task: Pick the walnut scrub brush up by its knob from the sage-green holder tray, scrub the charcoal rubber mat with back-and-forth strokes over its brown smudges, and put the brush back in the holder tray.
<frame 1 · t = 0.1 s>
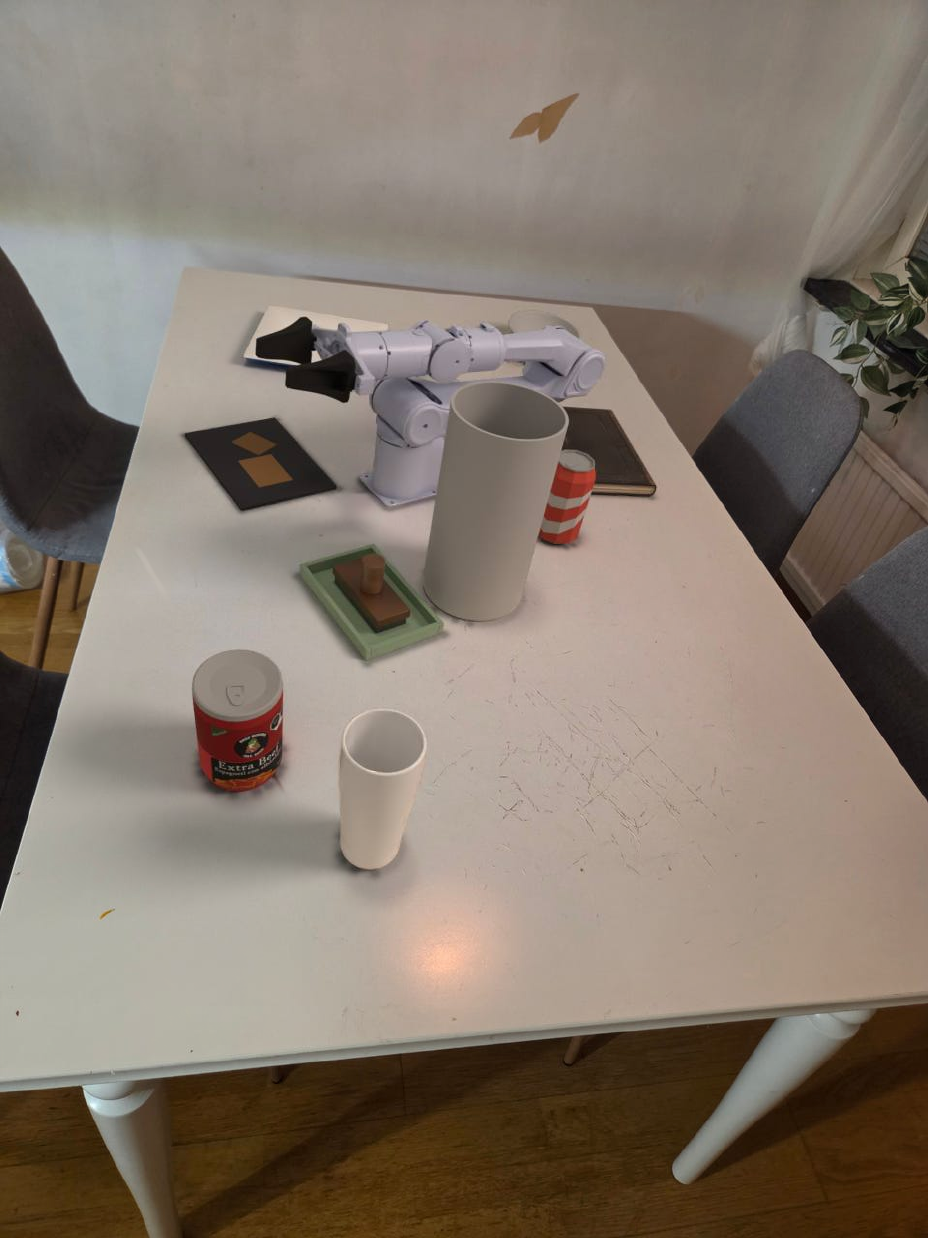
hand: (271, 362, 90), 22 cm above the table, tool horizontal, fingers open, 7 cm apart
cylinder vase: (471, 591, 100), on the table
brush: (369, 602, 95), resting on holder
hardcover book: (584, 455, 130), on the table
holder: (369, 605, 95), on the table
beverage can: (554, 535, 112), on the table
plate: (319, 350, 143), on the table
mat: (259, 461, 114), on the table
drinking glass: (369, 846, 72), on the table
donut: (436, 402, 135), on the table
canned food: (241, 760, 76), on the table
dish: (539, 354, 156), on the table
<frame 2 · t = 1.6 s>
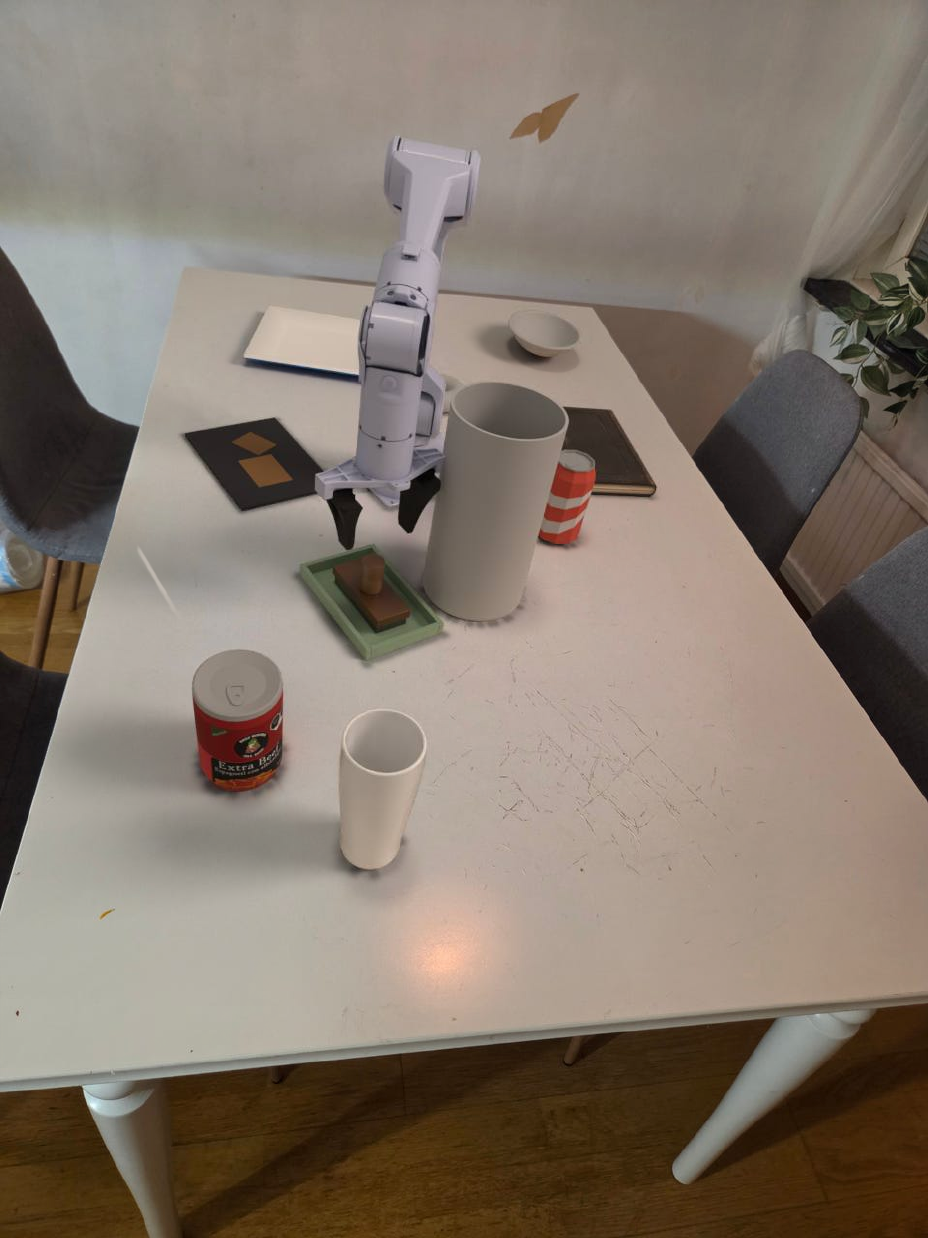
hand: (376, 536, 88), 10 cm above the table, tool pointing down, fingers open, 7 cm apart
nothing on the table moved.
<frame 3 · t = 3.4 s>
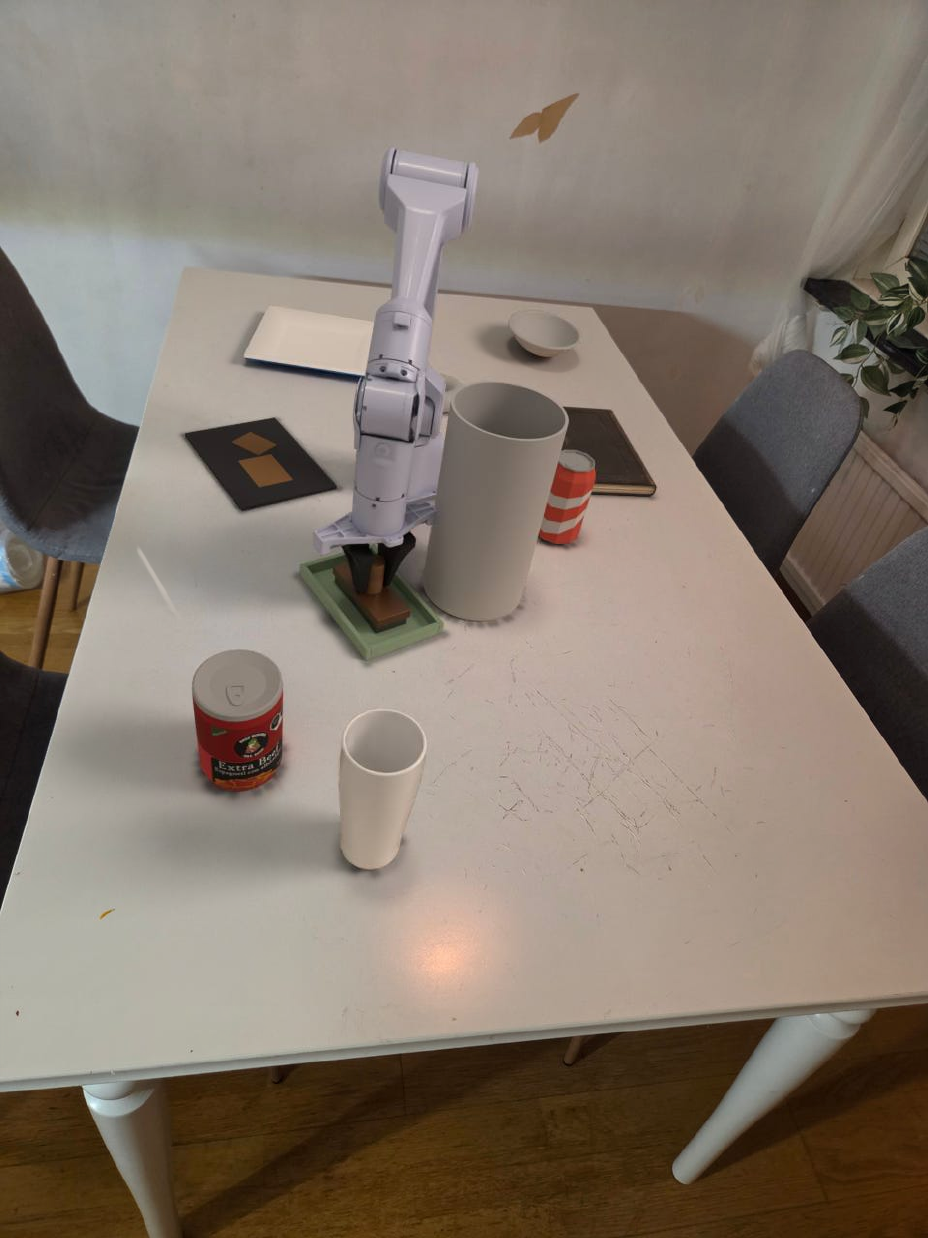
hand: (371, 584, 93), 3 cm above the table, tool pointing down, fingers closed on brush, 2 cm apart
brush: (369, 602, 95), resting on holder, touching gripper
everything else where it was.
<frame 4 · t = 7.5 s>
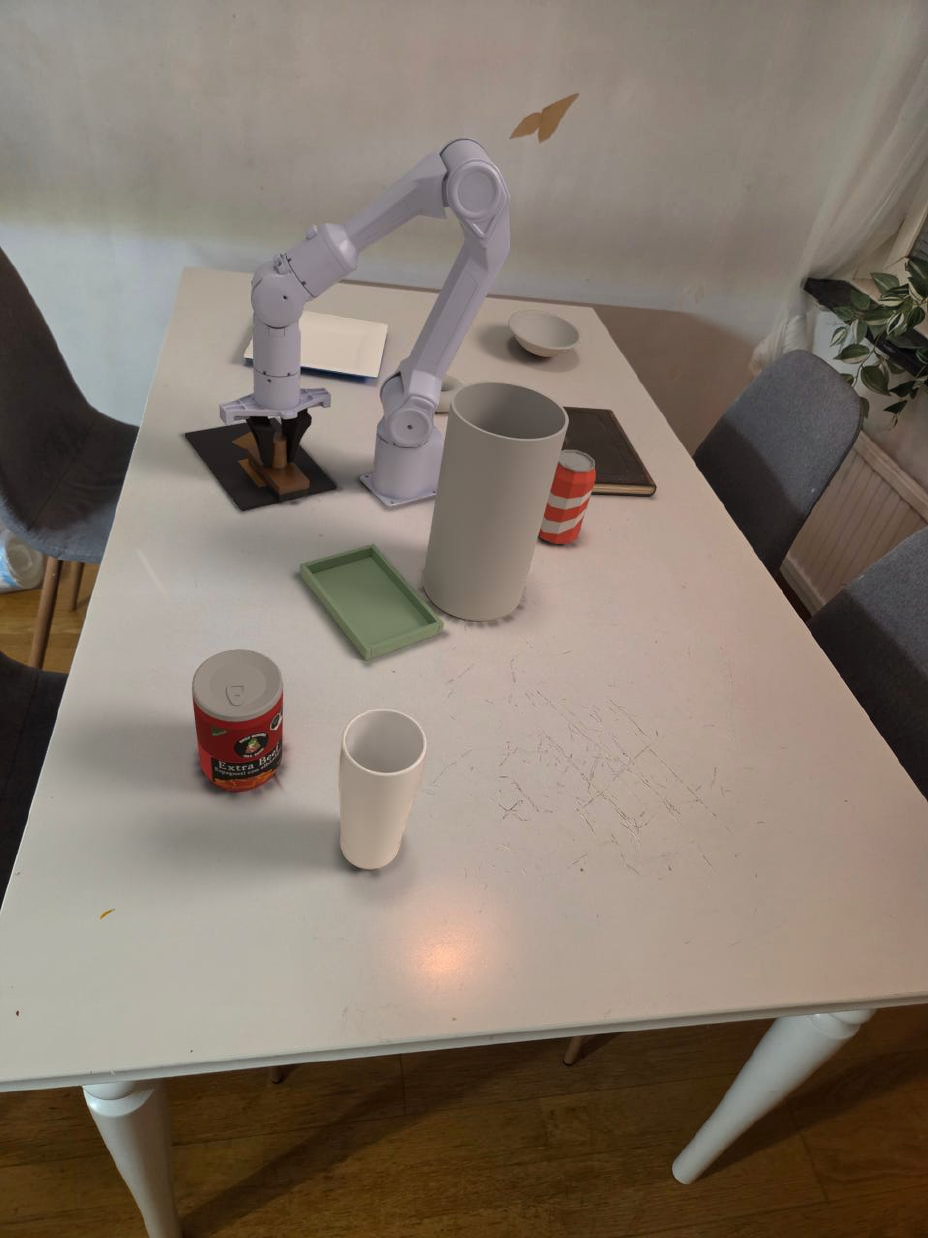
hand: (276, 461, 108), 4 cm above the table, tool pointing down, fingers closed on brush, 2 cm apart
brush: (277, 478, 110), point 1 cm above the table, touching gripper
everything else where it was.
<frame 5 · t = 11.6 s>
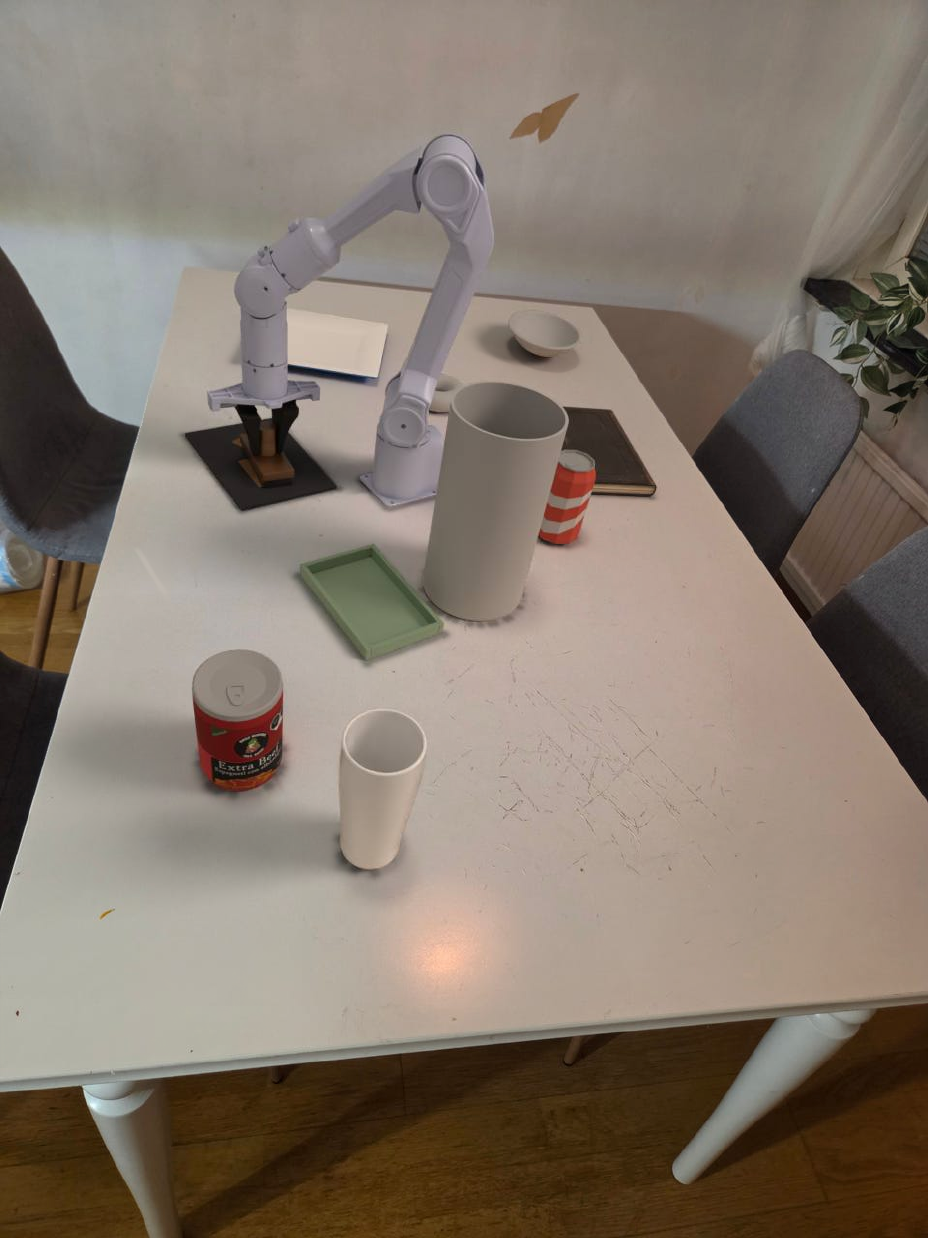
hand: (265, 450, 110), 3 cm above the table, tool pointing down, fingers closed on brush, 2 cm apart
brush: (266, 466, 112), point 1 cm above the table, touching gripper
everything else where it was.
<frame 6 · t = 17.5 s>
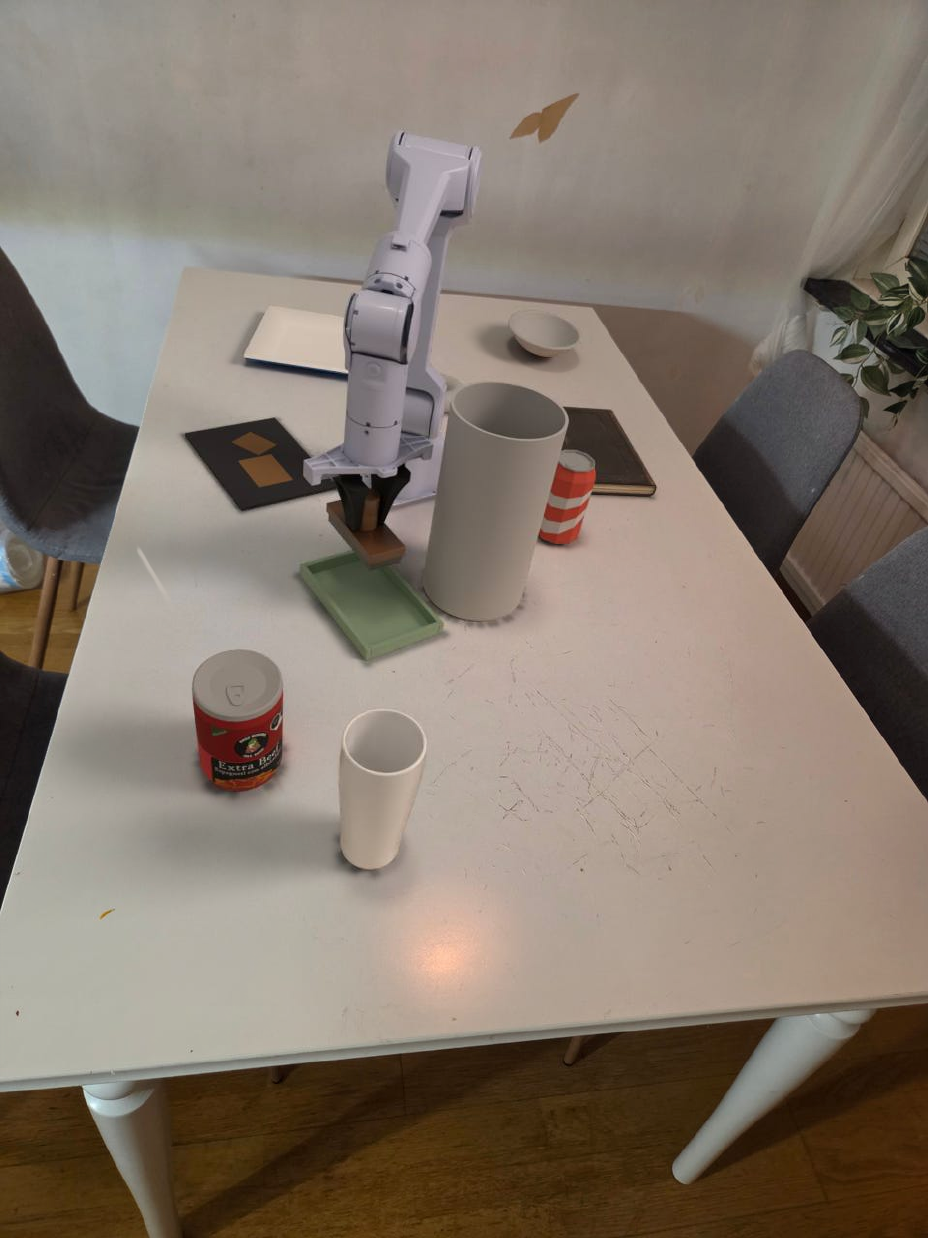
hand: (364, 523, 90), 10 cm above the table, tool pointing down, fingers closed on brush, 2 cm apart
brush: (363, 541, 91), point 8 cm above the table, touching gripper
everything else where it was.
when the fingers open (3 cm above the table, at t = 19.8 s): brush stays where it is, resting on holder.
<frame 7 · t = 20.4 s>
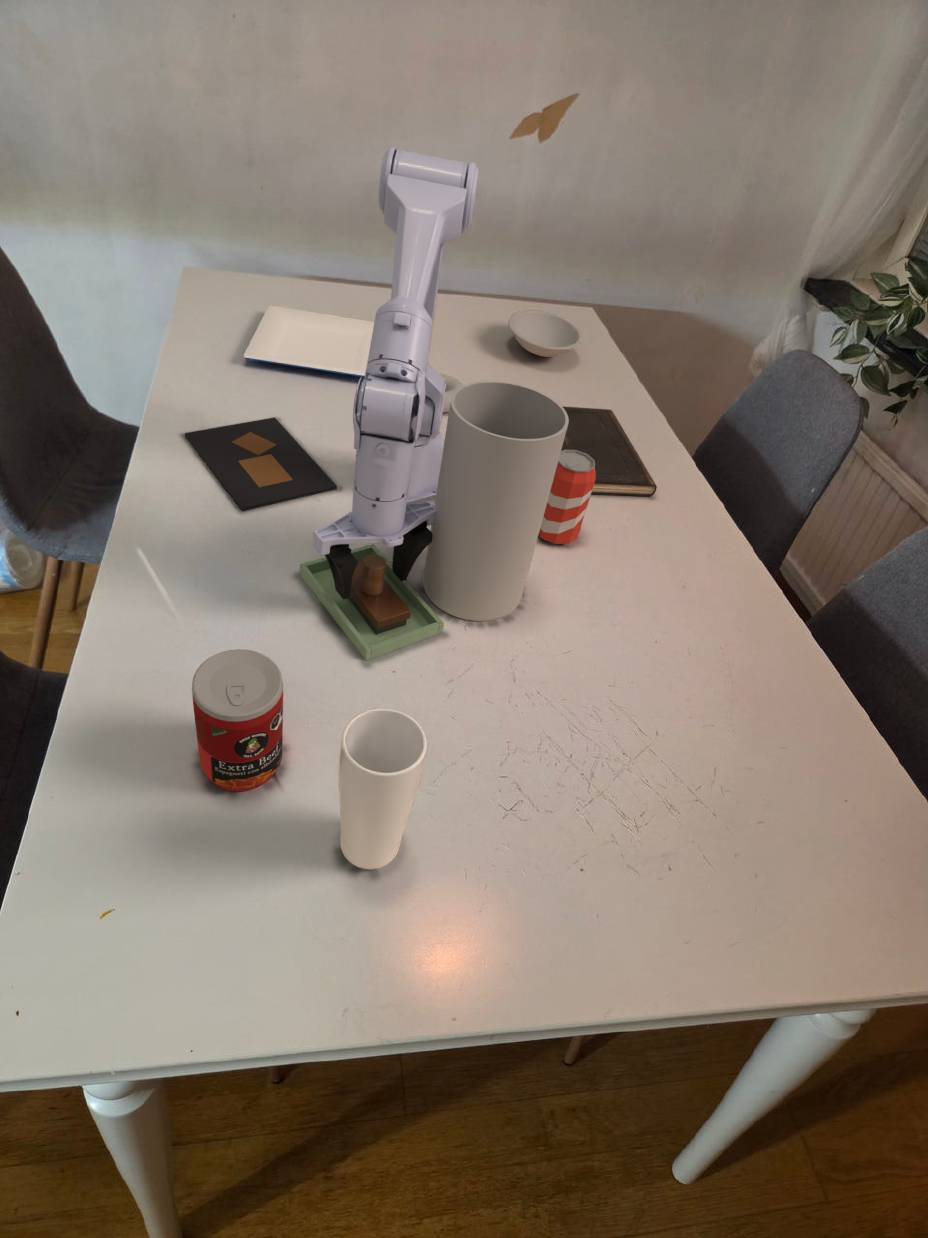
hand: (371, 584, 93), 3 cm above the table, tool pointing down, fingers open, 7 cm apart
brush: (370, 603, 95), resting on holder
everything else where it was.
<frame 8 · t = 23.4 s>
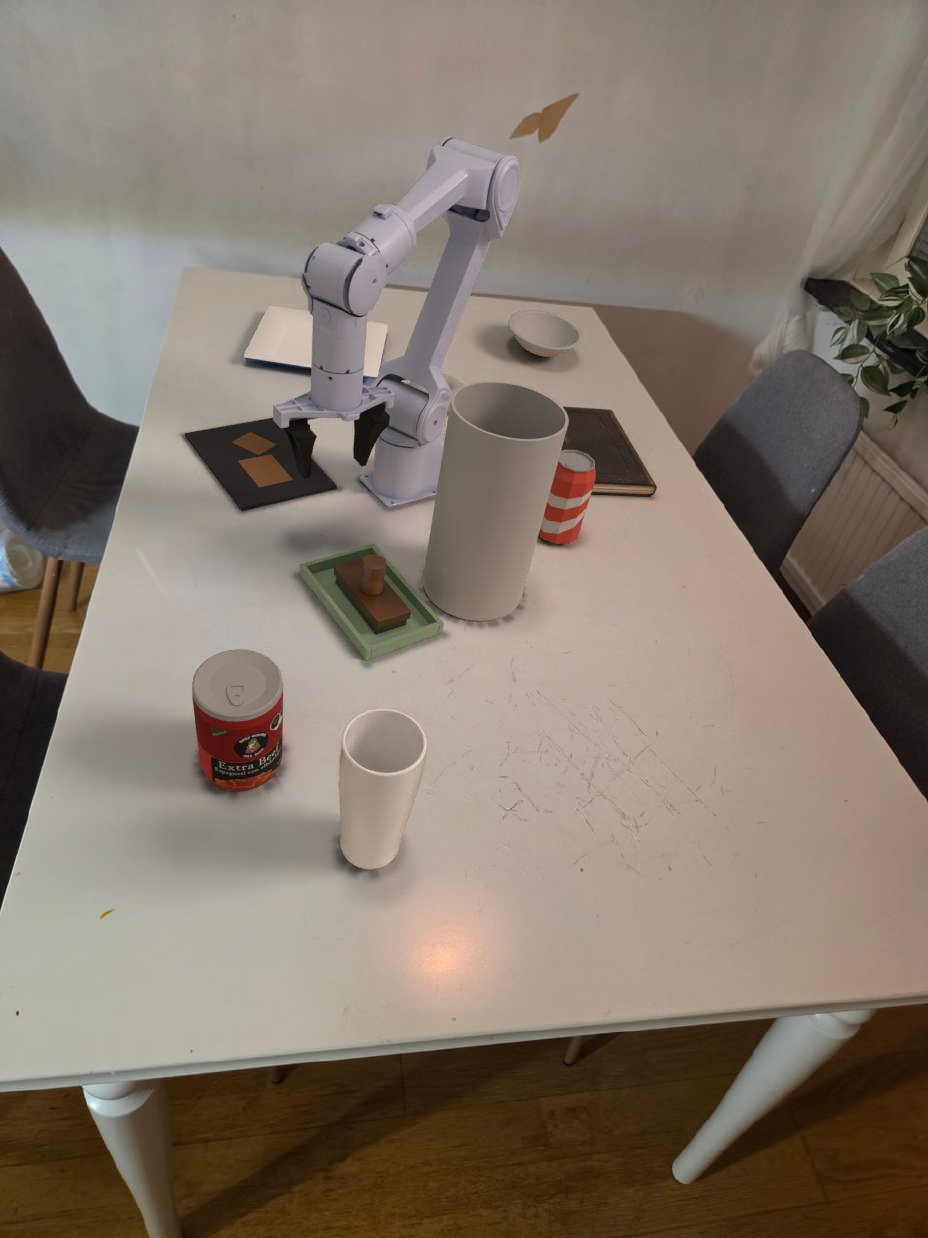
hand: (332, 467, 97), 10 cm above the table, tool pointing down, fingers open, 7 cm apart
nothing on the table moved.
at the end: brush inside the target area in the holder (0.2 cm from its centre), point 0.4 cm above the holder's base; brush touching holder; the gripper is holding nothing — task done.
